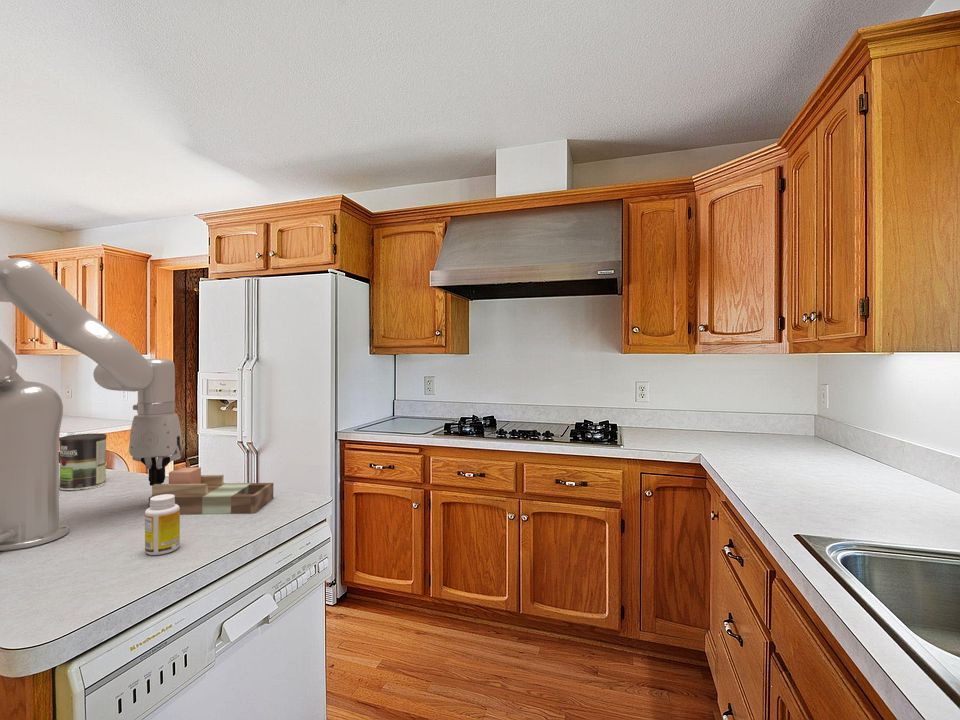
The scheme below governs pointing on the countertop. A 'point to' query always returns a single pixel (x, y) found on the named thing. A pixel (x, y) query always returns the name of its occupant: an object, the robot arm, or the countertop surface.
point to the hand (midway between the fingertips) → (156, 483)
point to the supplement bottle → (162, 525)
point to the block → (185, 476)
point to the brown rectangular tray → (217, 496)
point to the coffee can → (82, 461)
